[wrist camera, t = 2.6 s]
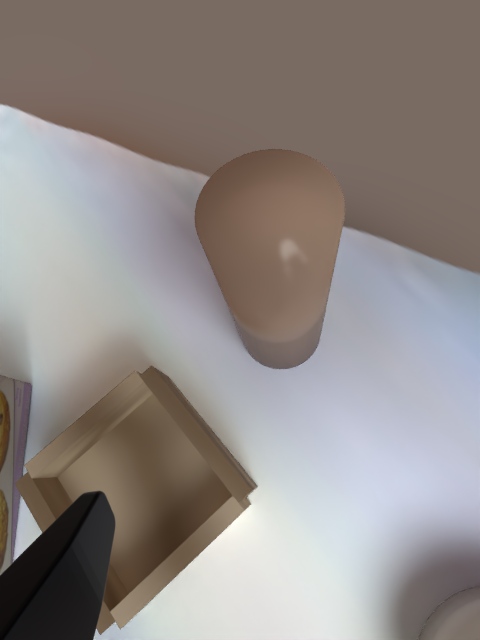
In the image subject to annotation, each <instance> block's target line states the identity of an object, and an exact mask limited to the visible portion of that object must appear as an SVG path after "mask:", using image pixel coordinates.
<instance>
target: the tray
mask: <svg viewBox="0 0 480 640" xmlns="http://www.w3.org/2000/svg"><path fill="white" fill-rule="evenodd" d="M24 466H25V468H26V469H27V471H28V472H27V473H26V474H25V475H24V476H23V477H22V478H20V479H19V480H18V481H17V482H16V483H15V485H16V487H17V489H18V490H19V492H20V494H21V496H22V497H23V499H24V501H25V503H26V504H27V506H28V508H29V510H30V512H31V513H32V515H33V517H34V519H35V520H36V522H37V524H38V526H39V527H40V529H41V531H42V533H43V532H44V531H45V530H46V529H47V528H48V527H49V526H50V525H51V524H52V523H53V522H54V521H55V520H56V519H57V518H58V517H59V516H60V515H61V514H62V513H63V512H64V511H65V510H66V509H67V508H68V507H69V506H70V505H71V504H72V503H73V502H74V501H75V500H76V499H77V498H78V497H79V496H80V495H82V494H83V493H85V492H92V491H102V492H104V493H105V495H106V497H107V499H108V502H109V504H110V506H111V509H112V511H113V513H114V516H115V522H116V525H115V533H114V539H113V545H112V551H111V557H110V563H109V569H108V575H107V580H106V586H105V592H104V597H103V603H102V607H101V611H100V615H99V619H98V623H97V627H96V628H97V630H98V632H99V634H100V635H101V634H102V633H103V632H104V631H105V630H106V629H107V628H109V627H110V626H111V625H112V624H113V623H114V622H115V621H116V623H117V625H118V626H119V628H120V629H121V628H122V627H124V626H125V625H126V624H127V623H128V622H129V621H130V620H131V619H132V618H133V617H134V616H135V615H136V614H137V613H138V612H139V611H140V610H141V609H142V608H143V607H144V606H146V605H147V604H148V603H149V602H150V601H151V600H152V599H153V598H154V597H155V596H156V595H157V594H158V593H159V592H160V591H161V590H162V589H163V588H164V587H165V586H166V585H167V584H168V583H170V582H171V581H172V580H173V579H174V578H175V577H176V576H177V575H178V574H179V573H180V572H181V571H182V570H183V569H184V568H185V567H186V566H187V565H188V564H189V563H190V562H191V561H192V560H193V559H195V558H196V557H197V556H198V555H199V554H200V553H201V552H202V551H203V550H204V549H205V548H206V547H207V546H208V545H209V544H210V543H211V542H212V541H213V540H214V539H215V538H216V537H217V536H219V535H220V534H221V533H222V532H223V531H224V530H225V529H226V528H227V527H228V526H229V525H230V524H231V523H232V522H233V521H234V520H235V519H236V518H237V517H238V516H239V515H240V514H241V513H242V512H244V511H245V510H246V509H247V508H248V507H249V506H250V505H251V503H250V502H249V500H248V499H247V498H246V497H247V496H248V495H249V494H250V493H252V492H253V491H254V490H255V489H256V488H257V487H258V486H257V485H256V484H255V483H254V481H253V480H252V479H251V478H250V477H249V475H248V474H247V473H246V472H245V470H244V469H243V468H242V467H241V465H240V464H239V463H238V462H237V461H236V459H235V458H234V457H233V456H232V454H231V453H230V452H229V451H228V449H227V448H226V447H225V446H224V445H223V443H222V442H221V441H220V440H219V438H218V437H217V436H216V435H215V433H214V432H213V431H212V430H211V429H210V427H209V426H208V425H207V424H206V422H205V421H204V420H203V419H202V418H201V416H200V415H199V414H198V413H197V411H196V410H195V409H194V408H193V406H192V405H191V404H190V403H189V402H188V400H187V399H186V398H185V397H184V395H183V394H182V393H181V392H180V390H179V389H178V388H177V387H176V386H175V384H174V383H173V382H172V381H171V379H170V378H169V377H168V376H166V375H165V374H163V373H162V372H160V371H159V370H157V369H156V368H154V367H153V366H151V367H150V368H148V369H147V370H146V371H145V372H144V373H143V374H140V373H139V372H137V371H134V372H133V373H132V374H130V375H129V376H128V377H127V378H126V379H125V380H123V381H122V382H121V383H120V384H119V385H118V386H116V387H115V388H114V389H113V390H112V391H111V392H109V393H108V394H107V395H106V396H105V397H104V398H102V399H101V400H100V401H99V402H98V403H97V404H95V405H94V406H93V407H92V408H91V409H90V410H88V411H87V412H86V413H85V414H84V415H83V416H81V417H80V418H79V419H78V420H77V421H76V422H74V423H73V424H72V425H71V426H70V427H68V428H67V429H66V430H65V431H64V432H63V433H61V434H60V435H59V436H58V437H57V438H56V439H54V440H53V441H52V442H51V443H50V444H49V445H47V446H46V447H45V448H44V449H43V450H42V451H40V452H39V453H38V454H37V455H36V456H35V457H33V458H32V459H31V460H30V461H29V462H28V463H26V464H25V465H24Z"/></svg>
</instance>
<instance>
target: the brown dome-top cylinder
mask: <svg viewBox="0 0 480 640" xmlns="http://www.w3.org/2000/svg"><path fill="white" fill-rule="evenodd" d="M344 217H345V201H344V197H343V193H342V190H341V188H340V185H339V183H338V182H337V180H336V178H335V177H334V176H333V174H332V173H331V172H330V171H329V170H328V169H327V168H326V167H325V166H323V165H322V164H321V163H319V162H318V161H316V160H315V159H313V158H311V157H309V156H307V155H304V154H301V153H298V152H294V151H289V150H282V149H268V150H260V151H255V152H251V153H248V154H245V155H242V156H240V157H237V158H235V159H233V160H232V161H230V162H228V163H227V164H225V165H224V166H223V167H221V168H220V169H219V170H217V171H216V172H215V173H214V174H213V175H212V176H211V178H210V179H209V180H208V181H207V183H206V184H205V185H204V187H203V189H202V191H201V193H200V195H199V197H198V200H197V204H196V209H195V226H196V231H197V234H198V237H199V239H200V242H201V244H202V246H203V249H204V251H205V253H206V256H207V258H208V260H209V263H210V265H211V267H212V270H213V272H214V275H215V277H216V279H217V282H218V284H219V286H220V289H221V291H222V293H223V296H224V298H225V300H226V303H227V305H228V307H229V310H230V312H231V314H232V317H233V319H234V322H235V324H236V326H237V329H238V331H239V333H240V336H241V338H242V340H243V343H244V345H245V347H246V349H247V351H248V353H249V354H250V355H251V356H252V357H253V358H254V359H255V360H256V361H257V362H259V363H260V364H262V365H264V366H267V367H269V368H274V369H288V368H293V367H296V366H298V365H300V364H302V363H304V362H305V361H306V360H308V359H309V358H310V357H311V356H312V354H313V353H314V352H315V350H316V348H317V346H318V344H319V341H320V336H321V331H322V326H323V321H324V316H325V311H326V306H327V301H328V296H329V291H330V286H331V281H332V276H333V271H334V267H335V262H336V257H337V252H338V247H339V242H340V237H341V232H342V227H343V222H344Z"/></svg>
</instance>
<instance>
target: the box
mask: <svg viewBox="0 0 480 640" xmlns="http://www.w3.org/2000/svg"><path fill="white" fill-rule="evenodd" d="M31 389H32V386H31V384H30V383H26V382H22V381H18V380H15V379H11V378H8V377H5V376H2V375H0V575H1V574H2V573H3V572H4V571H5V570H6V569H7V568H8V567H9V566H10V565H11V564H12V563H13V554H14V545H15V535H16V526H17V516H18V508H19V499H20V492H19V490H18V489H17V487H16V485H15V483H16V482H17V481H18V480H19V479H20V478H22V472H23V462H24V453H25V443H26V434H27V425H28V416H29V407H30V398H31Z"/></svg>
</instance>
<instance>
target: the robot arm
mask: <svg viewBox="0 0 480 640" xmlns="http://www.w3.org/2000/svg"><path fill="white" fill-rule="evenodd" d="M115 525H116V522H115V516H114V513H113V511H112V509H111V506H110V504H109V502H108V499H107V497H106V495H105V493H104V492H102V491H92V492H85V493H83V494H82V495H80V496H79V497H78V498H77V499H76V500H75V501H74V502H73V503H72V504H71V505H70V506H69V507H68V508H67V509H66V510H65V511H64V512H63V513H62V514H61V515H60V516H59V517H58V518H57V519H56V520H55V521H54V522H53V523H52V524H51V525H50V526H49V527H48V528H47V529H46V530H45V531H44V532H43V533H42V534H41V535H40V536H39V537H38V538H37V539H36V540H35V541H34V542H33V543H32V544H31V545H30V546H29V547H28V548H27V549H26V550H25V551H24V552H23V553H22V554H21V555H20V556H19V557H18V558H17V559H16V560H15V561H14V562H13V563H12V564H11V565H10V566H9V567H8V568H7V569H6V570H5V571H4V572H3V573H2V574H1V575H0V640H93V638H94V634H95V631H96V627H97V623H98V619H99V615H100V611H101V607H102V603H103V597H104V592H105V586H106V580H107V575H108V569H109V563H110V557H111V551H112V545H113V539H114V533H115Z"/></svg>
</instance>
